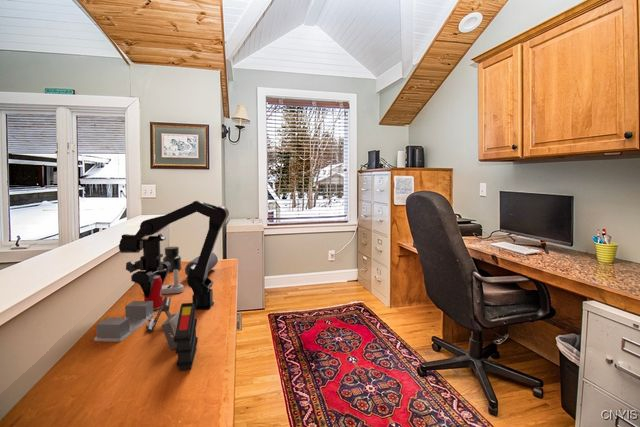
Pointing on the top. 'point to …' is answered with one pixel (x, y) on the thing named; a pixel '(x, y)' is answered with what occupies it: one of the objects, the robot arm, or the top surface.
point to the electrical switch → (171, 329)
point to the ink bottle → (173, 258)
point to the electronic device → (175, 287)
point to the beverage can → (156, 293)
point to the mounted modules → (123, 319)
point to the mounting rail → (134, 324)
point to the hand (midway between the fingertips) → (153, 293)
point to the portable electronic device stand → (163, 308)
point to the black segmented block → (186, 336)
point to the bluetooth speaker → (211, 264)
